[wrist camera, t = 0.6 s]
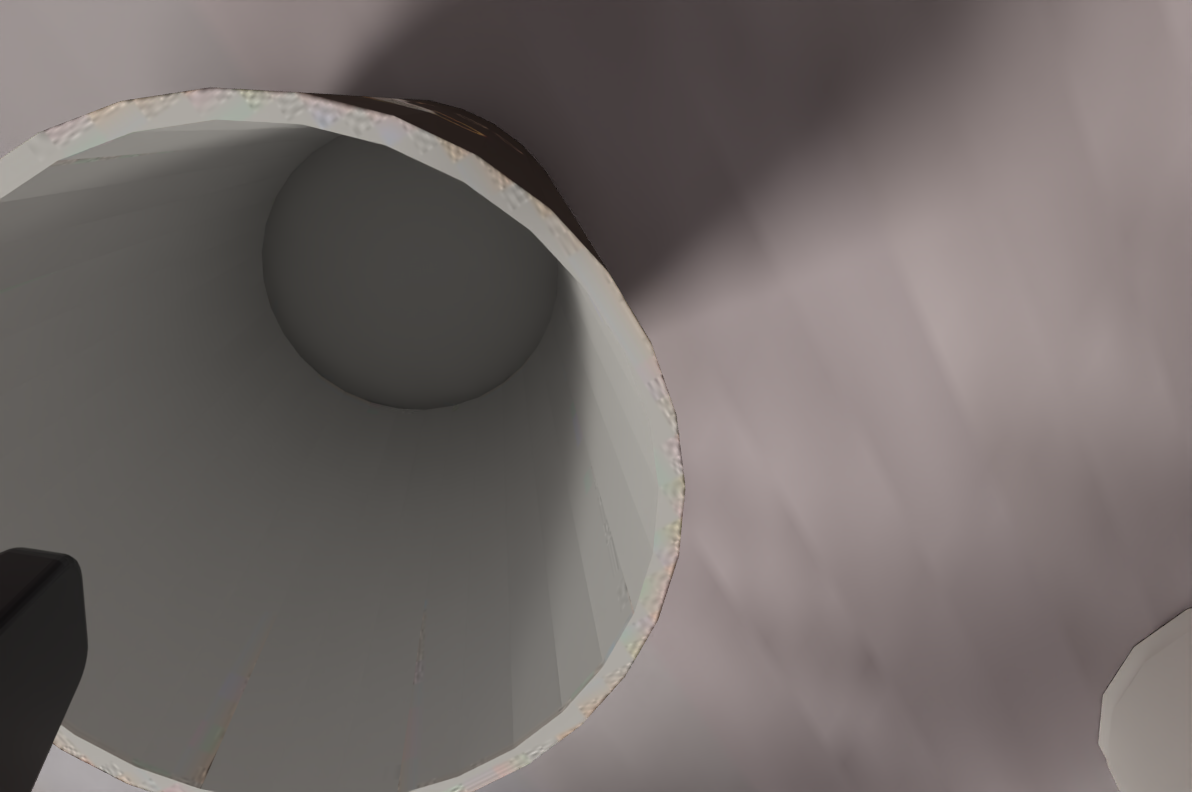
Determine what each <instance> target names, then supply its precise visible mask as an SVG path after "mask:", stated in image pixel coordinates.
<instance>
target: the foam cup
mask: <svg viewBox="0 0 1192 792" xmlns="http://www.w3.org/2000/svg"><path fill="white" fill-rule="evenodd" d="M1098 745H1099V746H1100V748H1101V750H1102V752H1103V754H1104V756H1105V758H1106V760H1107V765H1108V768H1109V770H1110V772H1111V774H1112V776H1113V778H1114V780H1115V783H1116V785H1117V787H1118V789H1119V791H1120V792H1192V608H1190V609H1187V610H1185V611H1184V612H1183V613H1181V614H1180V615H1178V616H1177V617H1175V618H1174V619H1173V620H1171V621H1170V622H1168V623H1167V624H1166V625H1164V626H1163V627H1161V628H1160V629H1159V630H1157V631H1156V632H1154V633H1153V634H1151V635H1150V636H1149V637H1147V638H1146V639H1144V640H1143V641H1142V642H1140V643H1139V644H1137V645H1136V646H1135V647H1134V648H1133V649H1132V651H1131V652H1130V654H1129V655H1128V657H1127V658H1126V660H1125V662H1124V663H1123V665H1122V666H1121V668H1120V669H1119V671H1118V672H1117V674H1116V675H1115V677H1114V679H1113V680H1112V682H1111V683H1110V685H1109V686H1108V688H1107V689H1106V691H1105V692H1104V694H1103V698H1102V708H1101V719H1100V729H1099V740H1098Z"/></svg>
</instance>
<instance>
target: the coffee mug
mask: <svg viewBox="0 0 1192 792" xmlns="http://www.w3.org/2000/svg"><path fill="white" fill-rule="evenodd" d="M684 495H685V481H684V472H683V464H682V456H681V448H680V440H679V432H678V424H677V416H676V412H675V409H674V407H673V404H672V401H671V398H670V395H669V392H668V390H667V387H666V384H665V381H664V378H663V375H662V372H661V370H660V367H659V364H658V361H657V358H656V355H655V352H654V350H653V347H652V344H651V341H650V340H649V338H648V336H647V335H646V333H645V332H644V330H643V328H642V327H641V325H640V323H639V322H638V320H637V318H636V317H635V315H634V313H633V312H632V310H631V308H630V307H629V305H628V303H627V302H626V300H625V298H624V297H623V295H622V294H621V292H620V290H619V289H618V287H617V285H616V284H615V282H614V280H613V279H612V277H611V275H610V274H609V272H608V270H607V269H606V267H605V266H604V264H603V262H602V261H601V259H600V258H599V256H598V254H597V253H596V251H595V250H594V248H593V247H592V245H591V243H590V242H589V240H588V239H587V237H586V235H585V234H584V232H583V231H582V229H581V227H580V226H579V224H578V223H577V221H576V219H575V218H574V216H573V215H572V213H571V211H570V210H569V208H568V207H567V205H566V203H565V202H564V200H563V199H562V197H561V195H560V194H559V192H558V191H557V189H556V187H555V186H554V184H553V183H552V181H551V180H550V178H549V176H548V175H547V173H546V172H545V170H544V169H543V168H542V167H541V165H540V164H539V163H538V162H537V161H536V160H535V159H534V158H533V157H532V156H531V154H530V153H529V152H528V151H527V150H526V149H525V148H524V147H523V146H522V145H521V144H520V143H519V142H517V141H516V140H515V139H513V138H512V137H511V136H509V135H508V134H507V133H505V132H504V131H503V130H501V129H500V128H499V127H497V126H496V125H495V124H493V123H491V122H488V121H486V120H484V119H482V118H480V117H478V116H476V115H474V114H472V113H470V112H468V111H466V110H464V109H460V108H456V107H452V106H448V105H445V104H441V103H437V102H433V101H427V100H412V99H396V98H380V97H364V96H348V95H333V94H317V93H301V92H282V91H264V90H245V89H227V88H204V89H198V90H191V91H184V92H178V93H171V94H165V95H158V96H151V97H145V98H138V99H132V100H125V101H120V102H117V103H114V104H112V105H109V106H107V107H104V108H101V109H99V110H96V111H94V112H91V113H88V114H86V115H83V116H81V117H78V118H75V119H73V120H70V121H68V122H65V123H62V124H60V125H57V126H55V127H52V128H49V129H47V130H44V131H42V132H39V133H37V134H36V135H34V136H33V137H32V138H30V139H29V140H27V141H26V142H24V143H23V144H21V145H20V146H18V147H17V148H15V149H14V150H12V151H11V152H9V153H8V154H6V155H5V156H4V157H2V158H1V159H0V552H3V551H5V550H8V549H10V548H15V547H26V548H32V549H38V550H45V551H51V552H58V553H64V554H68V555H70V556H72V557H74V558H75V559H76V560H77V561H78V563H79V565H80V567H81V572H82V578H83V589H84V601H85V612H86V623H87V635H88V655H87V661H86V665H85V669H84V672H83V676H82V678H81V681H80V683H79V685H78V688H77V690H76V692H75V694H74V697H73V699H72V701H71V703H70V706H69V708H68V710H67V712H66V715H65V717H64V719H63V721H62V724H61V726H60V728H59V730H58V733H57V735H56V737H55V739H54V742H53V744H54V745H56V746H57V747H58V748H60V749H61V750H63V751H65V752H67V753H69V754H70V755H72V756H74V757H76V758H78V759H80V760H82V761H84V762H86V763H88V764H90V765H92V766H94V767H96V768H98V769H100V770H101V771H103V772H105V773H107V774H109V775H111V776H113V777H115V778H117V779H119V780H121V781H123V782H125V783H127V784H129V785H132V786H135V787H138V788H141V789H144V790H147V791H150V792H474V791H476V790H478V789H480V788H482V787H484V786H486V785H488V784H490V783H492V782H494V781H496V780H498V779H500V778H502V777H504V776H506V775H508V774H510V773H512V772H514V771H516V770H518V769H520V768H522V767H524V766H526V765H528V764H530V763H531V762H532V761H534V760H535V759H536V758H538V757H539V756H540V755H542V754H543V753H544V752H546V751H547V750H548V749H550V748H551V747H552V746H554V745H555V744H557V743H558V742H559V741H561V740H562V739H563V738H565V737H566V736H567V735H569V734H570V733H571V732H573V731H574V730H575V729H577V728H578V727H579V726H581V725H582V724H583V722H584V721H585V720H586V719H587V718H588V717H589V716H590V715H591V714H592V713H593V711H594V710H595V709H596V708H597V707H598V706H599V705H600V704H601V703H602V701H603V700H604V699H605V698H606V697H607V696H608V695H609V694H610V693H611V691H612V690H613V689H614V688H615V687H616V686H617V685H618V684H619V683H620V682H621V680H622V679H623V678H624V677H625V676H626V674H627V672H628V670H629V669H630V667H631V665H632V664H633V662H634V660H635V658H636V657H637V655H638V653H639V652H640V650H641V648H642V646H643V645H644V643H645V641H646V640H647V638H648V636H649V634H650V633H651V631H652V629H653V628H654V626H655V624H656V622H657V621H658V618H659V615H660V612H661V609H662V606H663V603H664V600H665V597H666V594H667V591H668V588H669V584H670V581H671V578H672V575H673V572H674V569H675V566H676V563H677V560H678V557H679V548H680V537H681V527H682V516H683V506H684Z"/></svg>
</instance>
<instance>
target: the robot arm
mask: <svg viewBox="0 0 1192 792" xmlns="http://www.w3.org/2000/svg"><path fill="white" fill-rule="evenodd" d="M87 655H88V635H87V623H86V612H85V601H84V589H83V578H82V572H81V567H80V565H79V563H78V561H77V560H76V559H75V558H74V557H72V556H70V555H68V554H64V553H58V552H51V551H45V550H38V549H32V548H26V547H15V548H10V549H8V550H5V551H3V552H0V792H31V791H32V789H33V787H34V784H35V782H36V780H37V778H38V775H39V773H40V771H41V769H42V766H43V764H44V762H45V760H46V757H47V755H48V753H49V751H50V748H51V746H52V744H53V742H54V739H55V737H56V735H57V733H58V730H59V728H60V726H61V724H62V721H63V719H64V717H65V715H66V712H67V710H68V708H69V706H70V703H71V701H72V699H73V697H74V694H75V692H76V690H77V688H78V685H79V683H80V681H81V678H82V676H83V672H84V669H85V665H86V661H87Z"/></svg>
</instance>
